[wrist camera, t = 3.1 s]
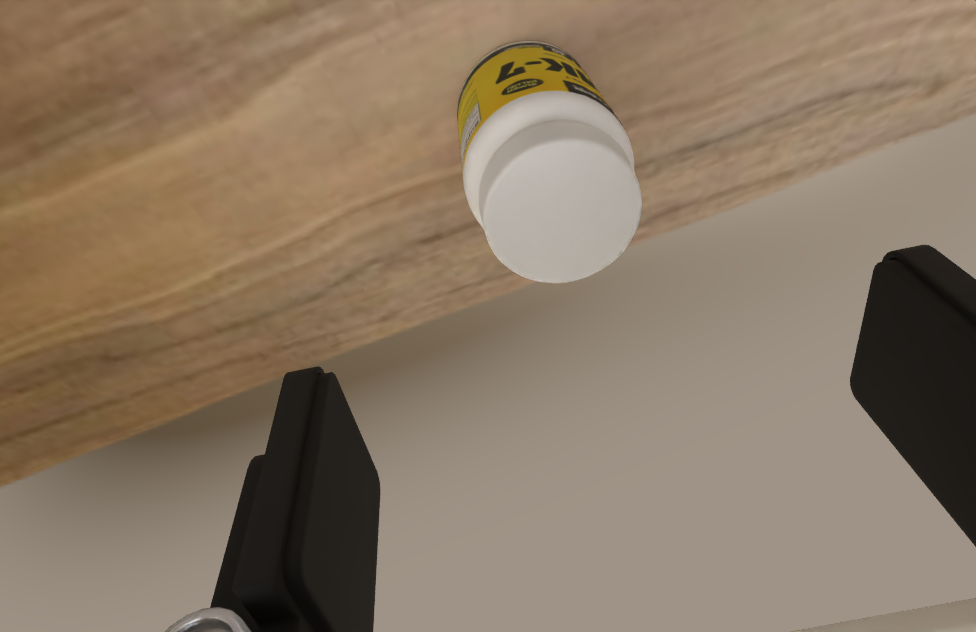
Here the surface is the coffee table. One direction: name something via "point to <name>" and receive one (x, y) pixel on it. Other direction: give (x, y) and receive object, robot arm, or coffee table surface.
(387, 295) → the coffee table surface
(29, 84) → the coffee table surface
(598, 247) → the supplement bottle
